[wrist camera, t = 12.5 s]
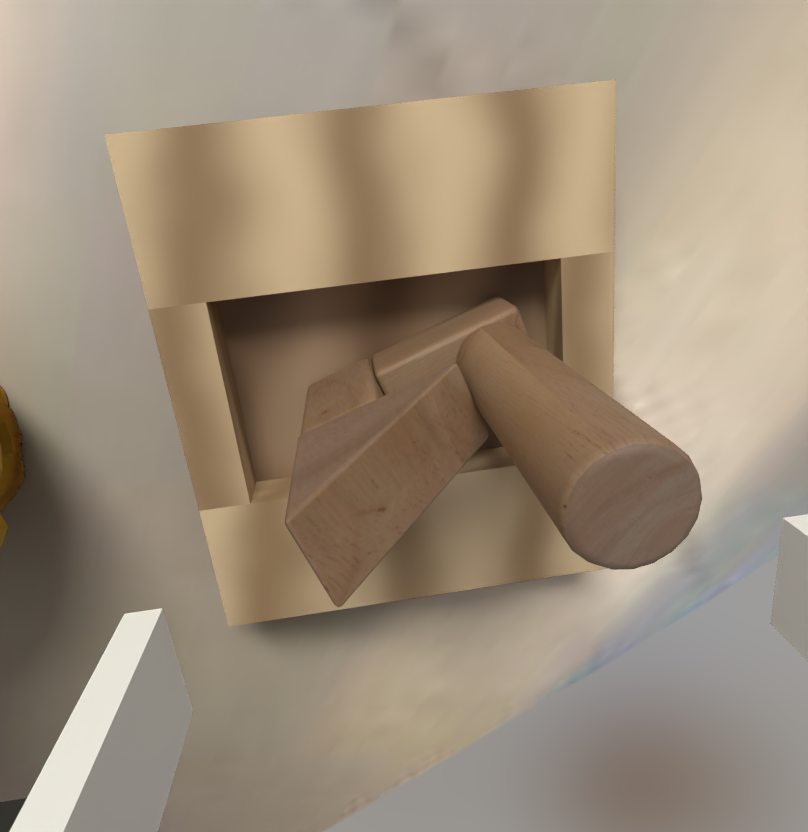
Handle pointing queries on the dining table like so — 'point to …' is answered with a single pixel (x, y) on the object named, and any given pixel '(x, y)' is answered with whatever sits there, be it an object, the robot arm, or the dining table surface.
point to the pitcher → (8, 459)
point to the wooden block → (463, 435)
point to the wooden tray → (366, 306)
